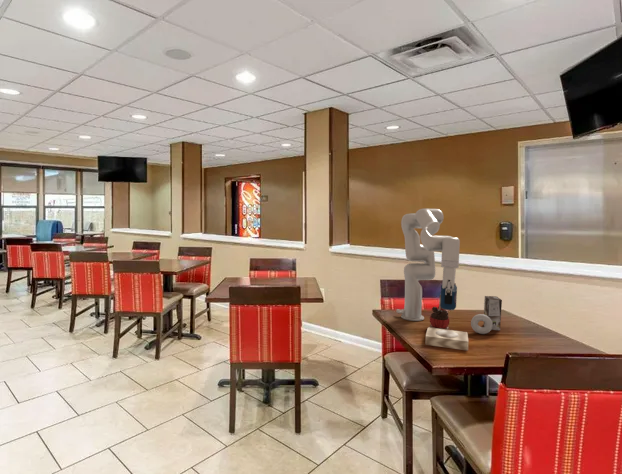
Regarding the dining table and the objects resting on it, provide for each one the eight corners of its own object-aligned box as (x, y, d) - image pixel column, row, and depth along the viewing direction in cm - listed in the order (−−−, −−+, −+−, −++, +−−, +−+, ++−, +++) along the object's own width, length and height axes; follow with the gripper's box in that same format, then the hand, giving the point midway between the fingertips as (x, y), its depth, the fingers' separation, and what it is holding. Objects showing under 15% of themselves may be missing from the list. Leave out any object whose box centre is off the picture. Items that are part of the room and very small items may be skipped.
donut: (492, 334, 184) (493, 314, 183) (492, 336, 181) (493, 316, 180) (470, 331, 188) (471, 312, 187) (470, 333, 185) (471, 313, 184)
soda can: (458, 310, 166) (459, 284, 166) (444, 310, 166) (445, 284, 165) (451, 306, 173) (452, 281, 172) (437, 306, 173) (438, 281, 172)
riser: (425, 344, 167) (425, 335, 167) (427, 335, 180) (427, 326, 180) (468, 350, 161) (468, 341, 160) (467, 340, 174) (467, 331, 174)
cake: (425, 326, 194) (426, 293, 193) (439, 325, 197) (440, 292, 196) (438, 333, 184) (440, 297, 183) (453, 331, 187) (455, 296, 186)
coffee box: (500, 330, 190) (502, 299, 189) (487, 329, 191) (489, 299, 190) (495, 325, 199) (497, 296, 198) (482, 324, 200) (484, 295, 199)
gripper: (441, 261, 178) (440, 297, 179) (440, 265, 161) (439, 305, 163) (458, 262, 175) (456, 298, 176) (459, 267, 159) (457, 307, 160)
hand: (448, 301), depth 169 cm, fingers closed on soda can, 6 cm apart
